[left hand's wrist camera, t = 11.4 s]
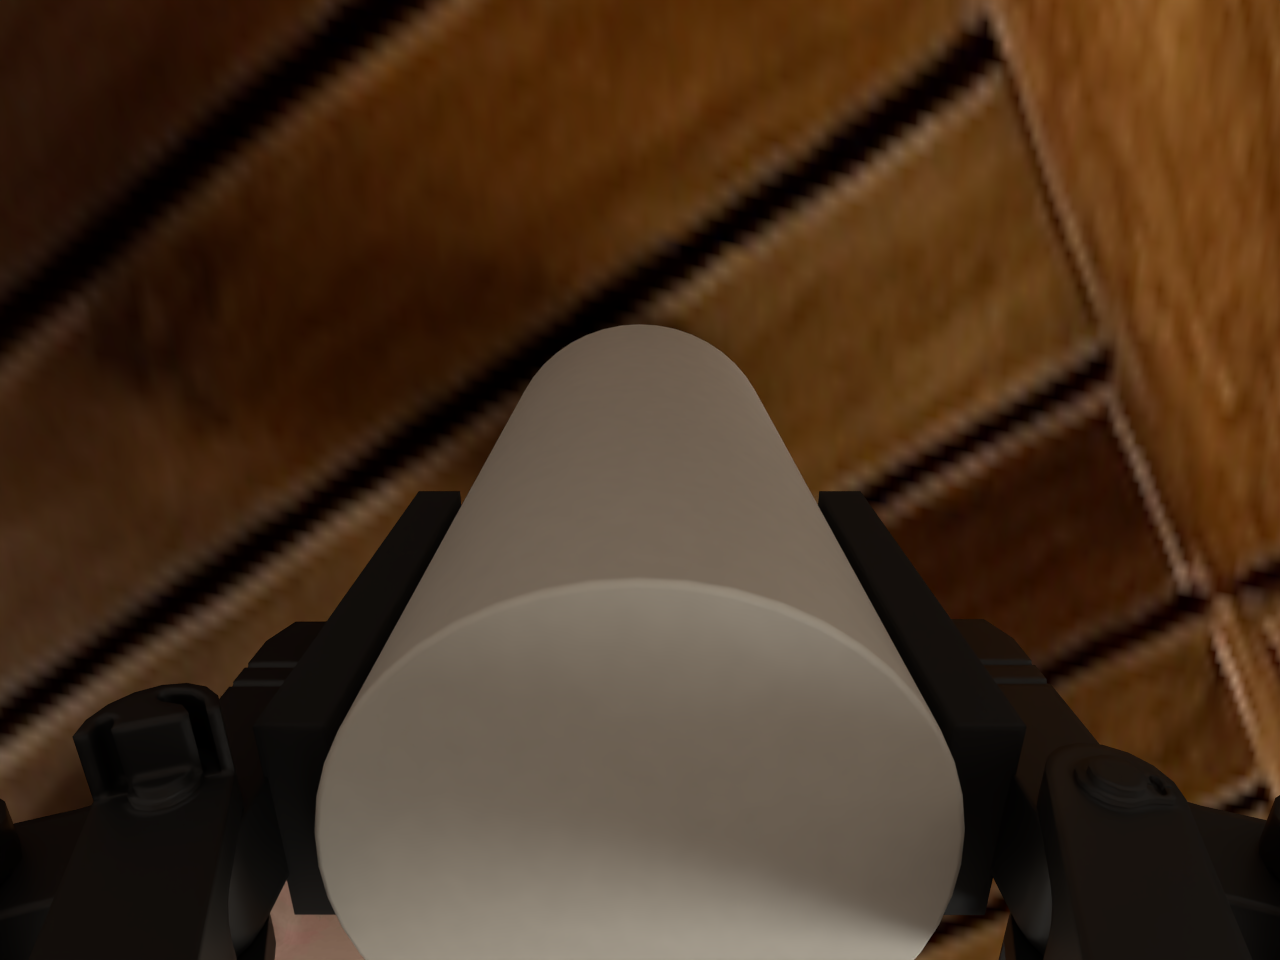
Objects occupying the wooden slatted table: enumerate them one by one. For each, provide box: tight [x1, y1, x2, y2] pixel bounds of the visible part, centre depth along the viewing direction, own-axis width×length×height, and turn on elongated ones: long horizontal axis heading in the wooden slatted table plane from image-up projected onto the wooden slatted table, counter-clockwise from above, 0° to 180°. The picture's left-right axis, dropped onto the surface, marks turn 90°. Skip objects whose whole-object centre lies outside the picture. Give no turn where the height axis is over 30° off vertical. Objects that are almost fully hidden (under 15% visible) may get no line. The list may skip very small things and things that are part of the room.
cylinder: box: [315, 324, 965, 960], centre depth 14 cm, size 7×7×13 cm
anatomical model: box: [270, 880, 365, 960], centre depth 25 cm, size 13×4×12 cm
